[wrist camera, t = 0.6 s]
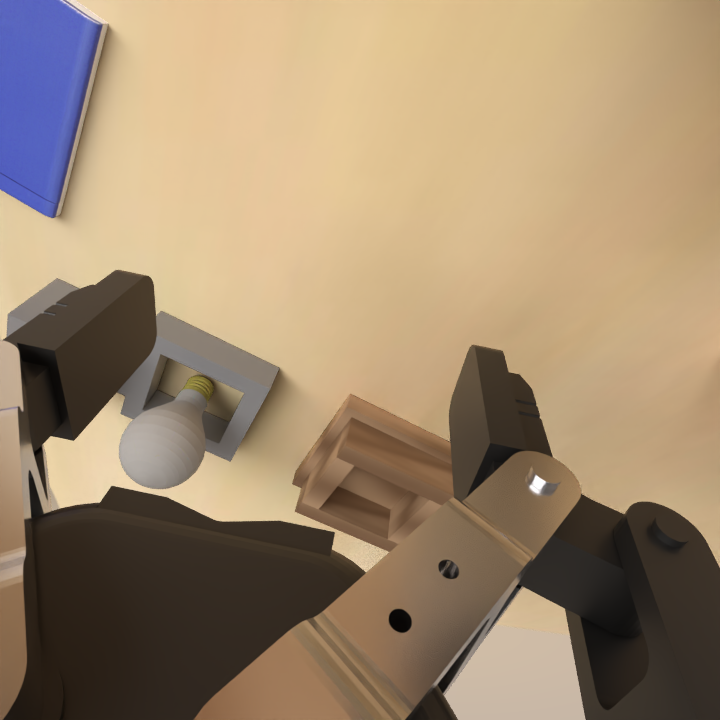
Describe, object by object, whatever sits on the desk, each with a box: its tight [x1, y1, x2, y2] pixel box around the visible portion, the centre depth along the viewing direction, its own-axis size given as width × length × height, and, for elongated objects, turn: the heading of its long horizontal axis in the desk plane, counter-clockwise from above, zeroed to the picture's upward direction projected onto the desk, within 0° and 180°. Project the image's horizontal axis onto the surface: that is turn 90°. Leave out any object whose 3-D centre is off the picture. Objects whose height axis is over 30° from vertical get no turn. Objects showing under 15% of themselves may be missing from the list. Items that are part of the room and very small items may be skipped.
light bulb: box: [119, 376, 214, 489], centre depth 35 cm, size 5×5×10 cm
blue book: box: [0, 0, 108, 218], centre depth 27 cm, size 2×8×12 cm
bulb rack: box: [292, 394, 454, 552], centre depth 41 cm, size 11×21×4 cm, turn 62°
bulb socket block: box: [7, 278, 279, 461], centre depth 36 cm, size 10×17×5 cm, turn 62°
